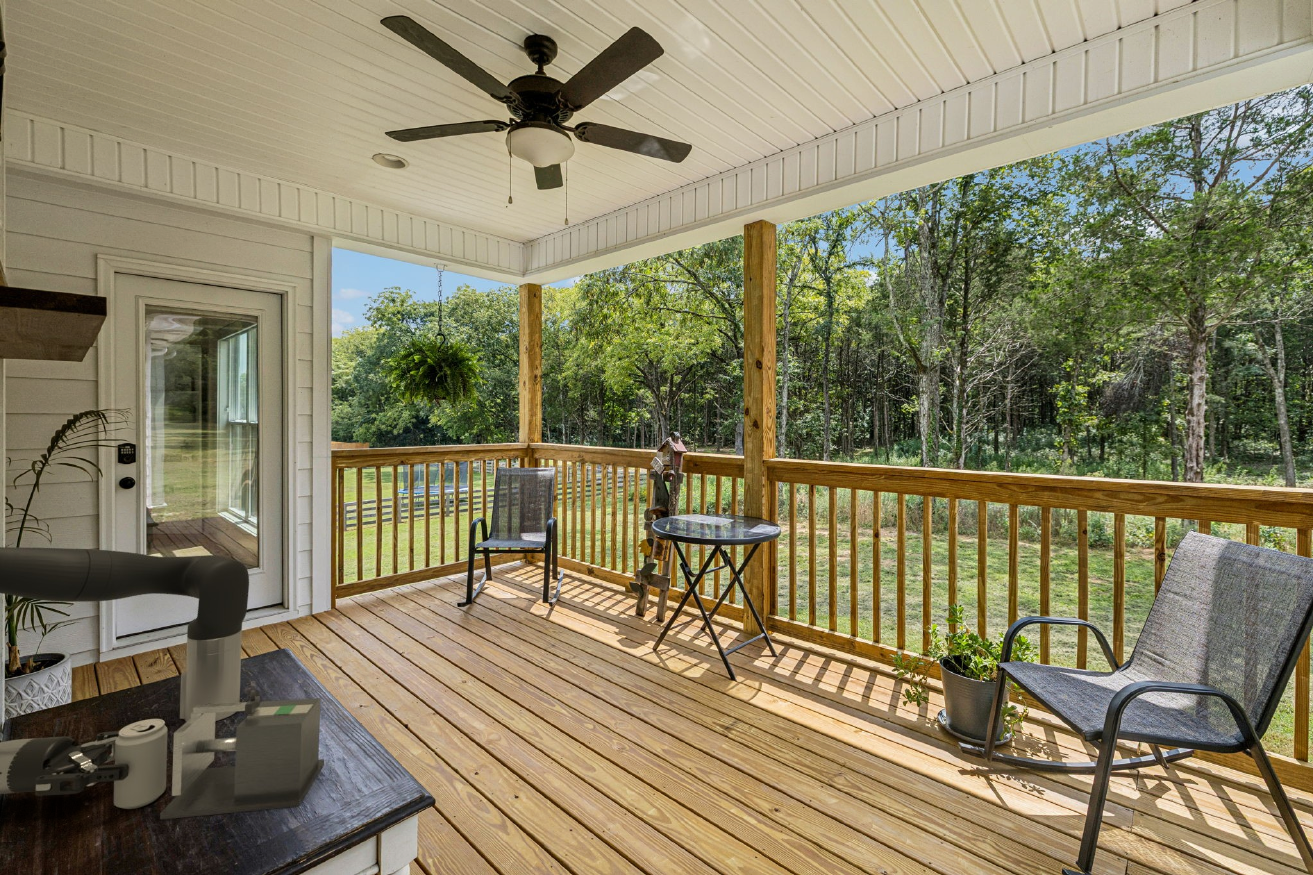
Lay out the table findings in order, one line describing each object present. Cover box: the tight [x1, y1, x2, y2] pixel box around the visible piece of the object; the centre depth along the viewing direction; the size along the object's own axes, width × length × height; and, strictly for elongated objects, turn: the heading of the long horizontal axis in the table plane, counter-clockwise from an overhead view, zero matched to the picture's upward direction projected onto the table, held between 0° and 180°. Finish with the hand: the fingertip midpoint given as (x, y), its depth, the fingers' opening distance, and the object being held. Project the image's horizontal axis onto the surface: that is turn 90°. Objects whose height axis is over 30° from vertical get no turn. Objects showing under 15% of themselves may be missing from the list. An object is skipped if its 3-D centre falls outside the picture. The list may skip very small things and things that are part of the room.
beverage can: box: [113, 718, 168, 810], centre depth 94 cm, size 6×6×12 cm
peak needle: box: [244, 689, 261, 715], centre depth 98 cm, size 1×3×3 cm, turn 13°
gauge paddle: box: [171, 701, 248, 797], centre depth 97 cm, size 9×10×12 cm
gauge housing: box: [159, 697, 325, 821], centre depth 98 cm, size 20×12×13 cm, turn 103°
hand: (145, 756), depth 95 cm, fingers open, 8 cm apart
